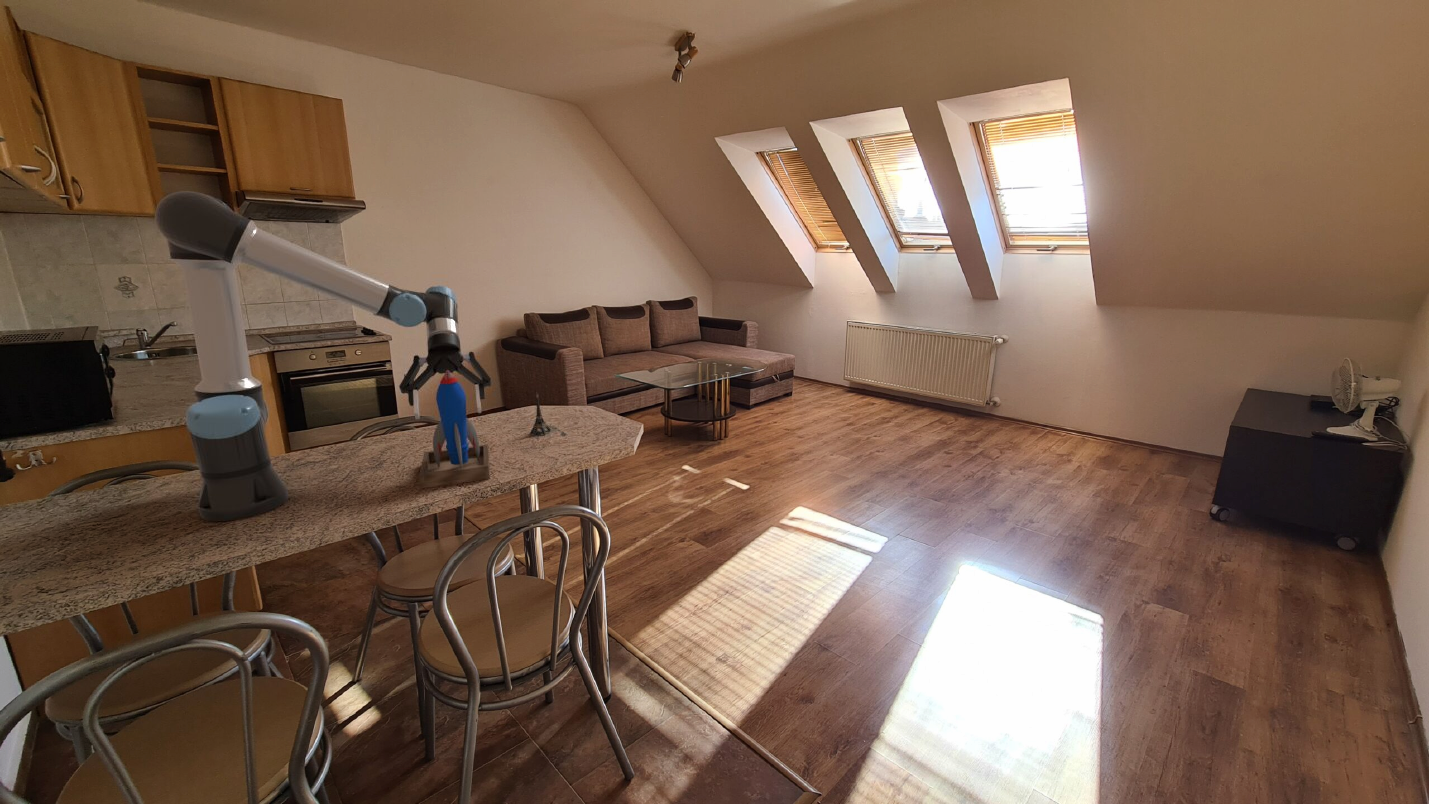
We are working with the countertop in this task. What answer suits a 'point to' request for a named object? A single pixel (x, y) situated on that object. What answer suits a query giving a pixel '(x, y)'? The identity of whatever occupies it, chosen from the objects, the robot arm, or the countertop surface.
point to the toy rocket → (453, 423)
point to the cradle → (454, 468)
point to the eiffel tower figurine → (541, 425)
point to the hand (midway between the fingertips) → (448, 413)
